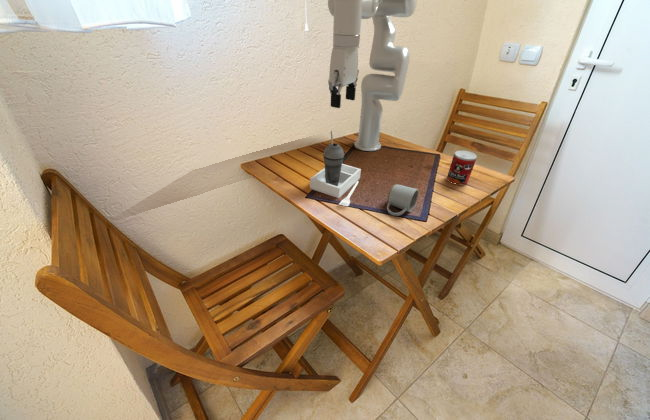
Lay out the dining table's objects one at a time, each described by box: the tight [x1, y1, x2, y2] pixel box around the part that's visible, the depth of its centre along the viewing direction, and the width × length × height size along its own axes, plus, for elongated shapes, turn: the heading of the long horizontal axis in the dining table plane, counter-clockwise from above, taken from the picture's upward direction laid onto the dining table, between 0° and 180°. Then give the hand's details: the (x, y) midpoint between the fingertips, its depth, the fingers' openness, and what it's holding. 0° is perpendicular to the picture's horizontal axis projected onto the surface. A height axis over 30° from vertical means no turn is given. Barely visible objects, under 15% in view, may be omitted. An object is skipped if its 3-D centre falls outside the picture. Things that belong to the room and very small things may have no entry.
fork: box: [338, 180, 360, 207], centre depth 101 cm, size 3×20×2 cm, turn 159°
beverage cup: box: [322, 130, 345, 186], centre depth 99 cm, size 7×7×20 cm
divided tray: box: [309, 163, 362, 199], centre depth 106 cm, size 17×12×4 cm
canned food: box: [446, 150, 478, 185], centre depth 108 cm, size 8×8×11 cm
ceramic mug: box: [386, 184, 419, 217], centre depth 92 cm, size 11×8×8 cm
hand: (343, 103), depth 91 cm, fingers open, 9 cm apart
